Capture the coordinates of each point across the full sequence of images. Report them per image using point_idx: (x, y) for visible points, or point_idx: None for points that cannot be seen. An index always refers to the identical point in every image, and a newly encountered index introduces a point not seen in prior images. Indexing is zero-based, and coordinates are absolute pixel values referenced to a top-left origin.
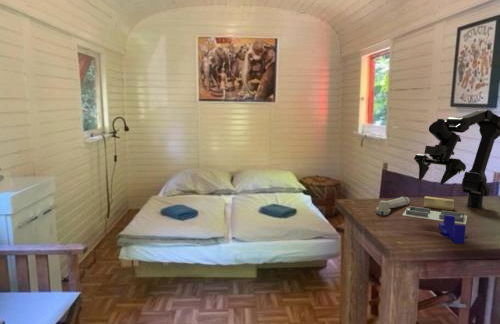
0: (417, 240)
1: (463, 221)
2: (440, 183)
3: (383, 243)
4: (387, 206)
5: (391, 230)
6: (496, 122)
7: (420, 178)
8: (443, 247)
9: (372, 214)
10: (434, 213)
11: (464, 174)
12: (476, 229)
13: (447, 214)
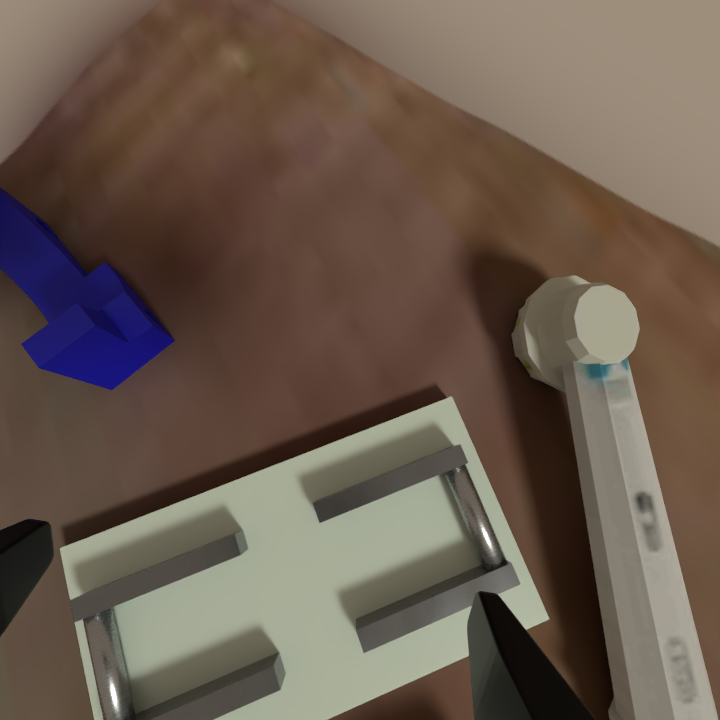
0: (187, 129)
1: None
2: (40, 520)
3: (274, 4)
4: (550, 322)
5: (346, 154)
6: None
7: (478, 623)
8: (65, 137)
9: None
10: (324, 635)
11: None
12: None
13: (231, 675)
